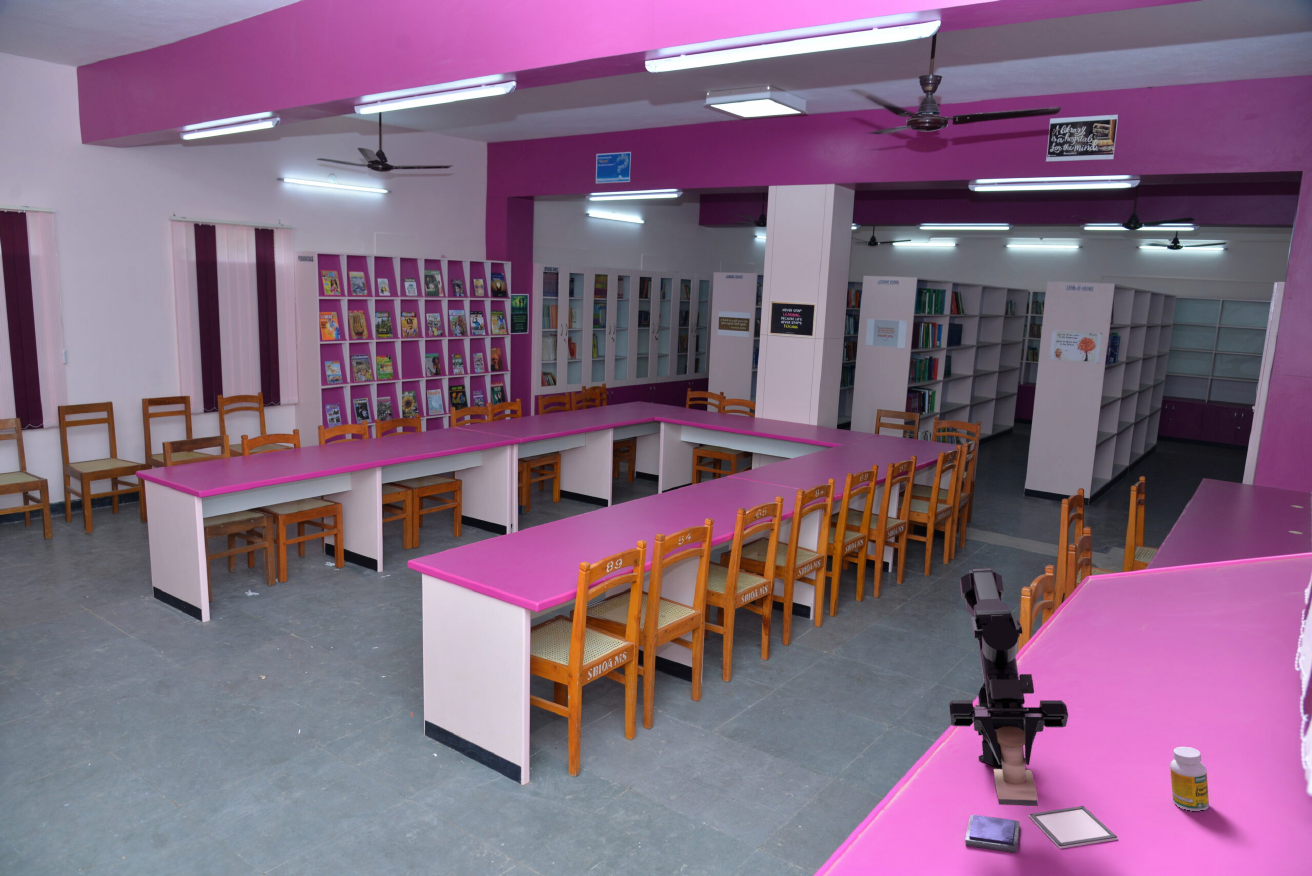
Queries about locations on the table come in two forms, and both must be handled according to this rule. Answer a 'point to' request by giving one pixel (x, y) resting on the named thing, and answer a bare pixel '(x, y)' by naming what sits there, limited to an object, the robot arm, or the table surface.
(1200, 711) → the table surface
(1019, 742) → the stamp
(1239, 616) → the table surface
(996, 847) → the ink pad
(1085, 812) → the marked square
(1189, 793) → the supplement bottle
